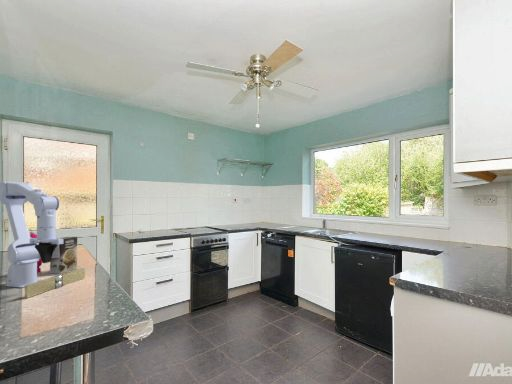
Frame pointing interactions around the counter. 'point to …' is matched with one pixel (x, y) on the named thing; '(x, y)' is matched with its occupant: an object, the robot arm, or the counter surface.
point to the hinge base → (71, 277)
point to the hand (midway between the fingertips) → (46, 262)
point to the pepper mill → (39, 263)
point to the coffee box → (64, 256)
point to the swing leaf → (41, 286)
